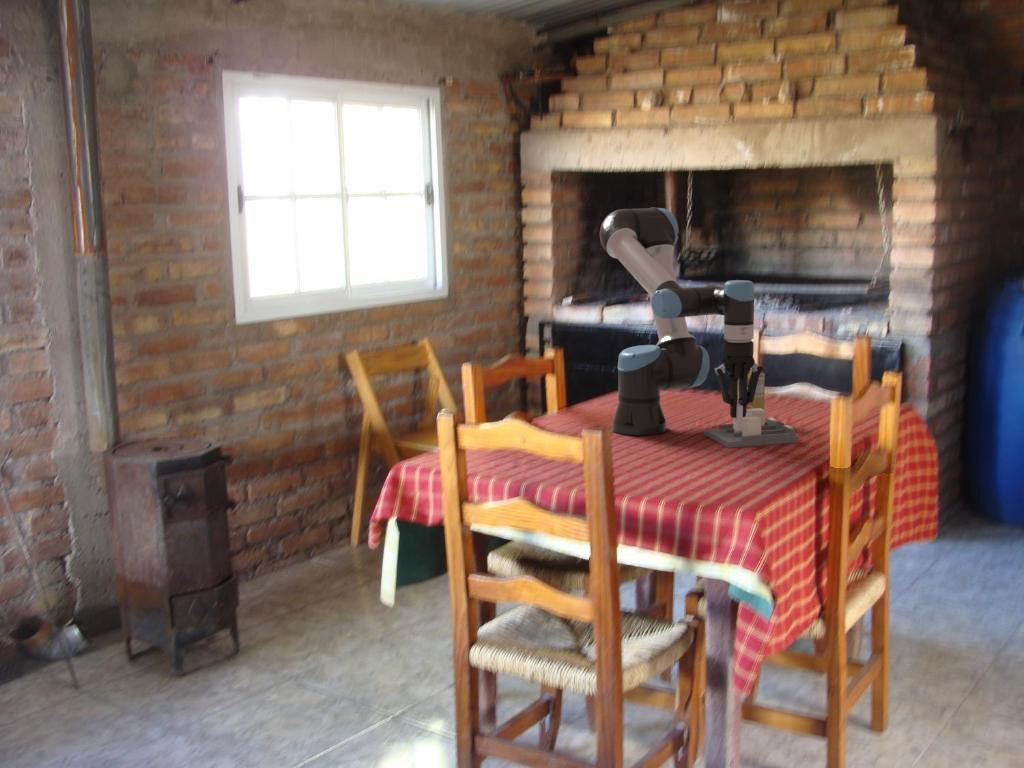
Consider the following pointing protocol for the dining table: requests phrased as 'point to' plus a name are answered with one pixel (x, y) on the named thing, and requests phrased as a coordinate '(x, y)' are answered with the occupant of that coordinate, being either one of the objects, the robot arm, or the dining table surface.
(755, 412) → the tab
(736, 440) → the switch board
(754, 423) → the tab
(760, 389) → the candy box
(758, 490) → the dining table surface
